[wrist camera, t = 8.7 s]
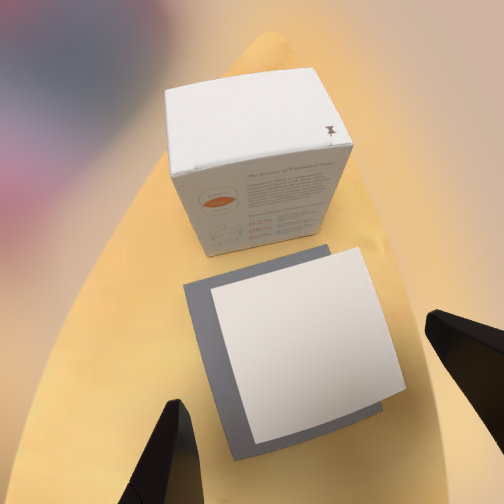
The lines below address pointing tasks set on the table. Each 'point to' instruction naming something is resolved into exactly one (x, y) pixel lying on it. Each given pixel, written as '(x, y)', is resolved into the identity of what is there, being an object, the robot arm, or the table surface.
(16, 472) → the table surface
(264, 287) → the tea tin
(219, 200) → the small box
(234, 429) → the felt coaster
